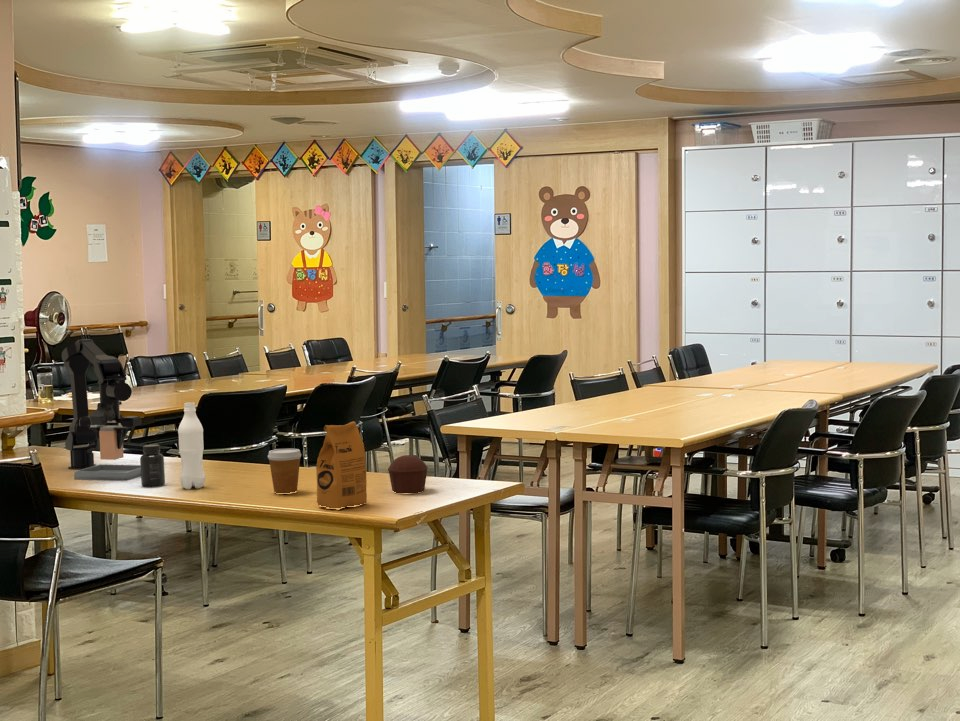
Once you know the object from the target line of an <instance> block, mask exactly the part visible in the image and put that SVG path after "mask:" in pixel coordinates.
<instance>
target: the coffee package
mask: <svg viewBox="0 0 960 721" xmlns="http://www.w3.org/2000/svg"><path fill="white" fill-rule="evenodd" d="M323 431H324V432H326V436H325V438H324V440H323V445H322V447H321V449H320V451H319V453H318V457H317V460H316V467H315V470H316V471H315V472H316V503H317V505H318V506H319V505H321V506H326V507H329V508H341V507H347V506H354V505H360V504H363V505H365V504H364V503H366V504H367V501H368V494H367V465H366V464H367V462H366V460H367V459H366V451H365V444H364V442H363V439H362V436H361V434H360V430H359V428H358V426H357V423H356V421H350V422H348V423H347V424H343V425H341V424H339V425H336V424H335V425H334V424H330V425H328V424H325V425H324V427H323Z"/></svg>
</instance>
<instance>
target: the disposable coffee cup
mask: <svg viewBox="0 0 960 721" xmlns="http://www.w3.org/2000/svg"><path fill="white" fill-rule="evenodd" d="M301 457H302V453H301V450H300V449H299V448H276V449H272V450H269V451H268V455H267V459H268V460H269V462H268V463H269V467H270V474H271V481H272V486H273V493H274V492H276V493H290V492H295V491H297V492H298V486H299V475H300V474H299V473H300V464H301V463H300V461H301Z"/></svg>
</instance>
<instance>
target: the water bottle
mask: <svg viewBox="0 0 960 721" xmlns="http://www.w3.org/2000/svg"><path fill="white" fill-rule="evenodd" d="M183 406H184V408H183V412H184V414H183V417H182V420H181V421H180V424H179V426H178V429H177V434H178V451H179V455H180V460H181V461H180V462H181V468H180V475H179V481H180V482H179V483H180V486H181V487H182V488H183V489H186V490H191V489H192V487H194V488H195V489H196V490H197V489H198V488H199V489H201V488H202V487H203V486H204V484H205V482H206V475H205V469H204V467H203V466H204V465H203V454H204V450H205V449H204V428H203V425H202V423H201V421H200V419H199V418H198V416H197V413H196V411H197V409H196V402H194V401H189V402H184V405H183Z"/></svg>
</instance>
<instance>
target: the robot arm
mask: <svg viewBox="0 0 960 721" xmlns="http://www.w3.org/2000/svg"><path fill="white" fill-rule="evenodd" d="M61 359H62V363H63V367H64V369H65V370H66V371H67V372H68V374H69V377H70V390H71V400H72V401H71V402H72V412H73V414H72V415H73V419H72V421H71V423H70V425H69V427H68V430H69V431H68V432H69V433H68V434H67V437H66V439H65V443H64V444H65V450H67V451H69V452H70V453H69V454H70V455H69V456H70V466H68V467H67V469H71V470H73V469H77V470H81V469H85V468H88V467H92V466H95V465H97V464H95V454H94V452H93V449H96V448H97V445H98V442H100V436H99V431H100V427H104V426H108V425H118V426H119V427H117V428H115V430H116V432H117V446H118V449H121V447H122V444H123V445H124V442H125V439H126V437H127V435H128V433H129V431H130V429H133V428H134V427H139V426H142V424H143V421H142V420H143V419H142V418H141V417H140V416H139V415H138V416H137V415H127V416H123V414H122V413H121V414H120V412H121V411H120V406H121V405H122V402H126V401H127V400H129V399H130V398H131V397H132V393H133V390H132V386H131V385H129V384H128V383H127V382H126V381H127V380H128V378H127V373H126V371H125V368H124V367H123V364H122V362H121V361H120V359H119V358H117V357H115V356H112V355H107V354H106V353H105V352H104V351H103V350H101V348H99V347H98V345H96V344H95V341H94V340H93V339H91V338H85V339H84V338H83V339H78V340H76V341H75V342H74V343H72V344H70V345H68V346H66V347H65V348H64V349H63V350H62V352H61ZM91 364H92V366H93V372H94V373H95V375H96V377H97V378H98V381H97V384H98V386H99V389H98V390H99V402H97V404H96V405H97V406H96V407H97V408H96V409H95V410H93V411H92V412H90V411H89V400H88V387H87V378H86V373H87V371H88V369H89V367H90V365H91Z"/></svg>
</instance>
